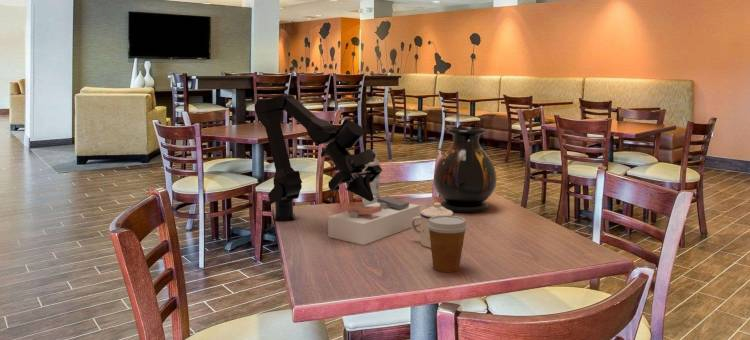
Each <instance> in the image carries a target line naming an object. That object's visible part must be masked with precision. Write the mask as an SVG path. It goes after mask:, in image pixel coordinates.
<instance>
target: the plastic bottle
mask: <svg viewBox="0 0 750 340" xmlns="http://www.w3.org/2000/svg"><path fill="white" fill-rule="evenodd" d="M371 150H372V151H373V152H374V153H375V159H374V162H370V163H368V164H366V165H365V166H366V167H365V168H364V169H363V170H362V172H364V171H365V170H366V168H367V167H368V166H372V165H379V166H380V167H381V168H382V166H381V163H380V161H379V159H378V151H377V150H374V149H371ZM380 177H381V173H380V174H379V175H378V176H377V177H376V178H375V179H374V181H373V182H371V183H370V187H371V191H372V194H373V197H374V200H373V201H371V202H370V201H368V200H366V199H364V198H363V197H361V200H362V206H366V205H370V204H373V203H377V198H381V197H382V195H381V189H380Z"/></svg>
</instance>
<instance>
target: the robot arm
mask: <svg viewBox="0 0 750 340" xmlns="http://www.w3.org/2000/svg"><path fill="white" fill-rule="evenodd" d="M253 107H254V112H255V114H256V118H257V119H258V121H259V122H260V123H261V124H262V125H263V127H264V129H265V132H266V136H267V140H268V144H269V149H270V152H271V157H272V160H273V164H274V168H275V171H274V172H275V173H274V175H273V179H272V180H273V188H271V190H270V191H269V193H268V194H267V197H268V200H269V202H272V203H273V202H274V204H275V205H274V206H275V208H274V211H275V213H274V216H273V221H295V219H296V218H295V217H296V215H295V213H294V200H295V199H299V198H300V193H301V190H302V188H303V187H302V183H303V180H302V178H301V174H300V172H299V170H294V168H292V165H291V162H290V157H289V153H288V149H287V145H286V142H285V137H284V134H283V133H284V132H283V128H282V125H281V123H282V120H283V116H284V114H283V112H284V111H285V112H287V113H288V114H289V115H290V116H291V117H292V118H293V119H294V120H295V121H296V122H297V123H299V124H300V125H301V126H302V127H303V128H305V130H306V133H307V136H308V138H310V139H311V140H312V142H313V143H314V144H315V145H323V144H327V145H326V146H325V147H321V152H320V157H321V158H324V157H329V159H330V161H331V162H332V163H333V165H334V167H333V170H334V171H335V172H336V173H335V174H334V175H333V176H332V177H331V178H330V179H329V181H328V183H327V184H328V186H327V187H328V189H329V190H330V192H331V193H334V192H338V191H339V190H340V186H339V185H342V184H346V186H347V187H346V188H345V191H346V192H347V191H349V192H351V193H353V194H355V195H357V196H358V197H360V198H362V197H363V198H364V199H366V200H368V201H370V202H371V201H373V200H374V197H373V194H372V191H371V187H370V183H371V182H373V181H374V179H375V178H376V177H377V176H378V175H379V174H380V175H381V173H382V172H383V169H382V166H381V167H380V166H379V165H372V166H368V167H367V168H366V170H365V171H364V172H363V169H364V168H365V167H366V166H365V165H366V164H368V163H370V162H374V159H375V153H374V152H373V151H372V150H373V149H371V148H368V149H367V148H366V150H363V151H362V152H358V153H355V154H354V153H353V154H352V153H351V152H350V151H349V149H353V148H354V146H355V145H356V144H358V141H359V140H360V139H361V138H362V137H363V136H364V134H365V131H364V129H363V127H362V126H361V125H359V124H358V123H357V122H356V121H353V120H351V118H345V119H344V120H343V121H342V123H341V125H340V126H339V128H338V127H337V126H336V125H335V124H334V123H331V122H330V121H328V120H326V119H322V118H319V117H317V116H316V115H315V114H314V113H312V111H311V110H309V109H308V108H307V107H305V105H303V104H302V103H301V102H299V100H298V99H296V97H295V96H294V95H292V94H279V95H278V96H275V97H274V96H273V97H269V98H268V97H267V98H259V99H257V101H256V102H255V104H254V106H253Z"/></svg>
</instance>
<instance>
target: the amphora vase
mask: <svg viewBox="0 0 750 340" xmlns="http://www.w3.org/2000/svg"><path fill="white" fill-rule="evenodd" d="M447 133H449V134H451V135H452V139H453V140H452V144H450V147H449V148H447V150H446V151H445V152H444V153H443V154H442V155H441V156H440V158H439V160H438V162H437V163H436V167H435V169H434V174H433V185H434V189H435V190H436V192H437V194H438V196H440V197H441V198H442V199H441V201H440V203H441V206H442V207H444V208H446V209H448V210H451V211H452V212H453V213H465V214H466V213H472V214H473V213H479V212H482V211H485V210H486V209H487V208H488V206H489V203H488V202H487V200H488V198H490V196H492V194H493V193H494V192H495V190H496V185H497V173H496V169H495V165H494V163H493V160H492V159H491V158H490V156H489V155H488V154H487V152H486V151H485V150H484V149H483V147H482V146H481V144H480V142H479V140H480V137H481V135H483V134H486V130H485V129H484V128H482V127H475V126H454V127H449V128H447Z"/></svg>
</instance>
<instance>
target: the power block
mask: <svg viewBox="0 0 750 340" xmlns="http://www.w3.org/2000/svg"><path fill="white" fill-rule="evenodd" d="M366 206H375V207H381V208H382V211H380V212H376V213H373V214H358V212H354V211H351V213H348V210H346V211H343V212H339V213H335V214H332V215H329V216H327V217H328V218H327V220H328V221H327V223H328V225H327V227H328V228H327V229H328V231H327V236H328V238H333V239H336V240H339V241H345V242H348V243H349V242H350V243H353V244H358V245H363V246H364V245H368V244H370V243H373V242H375V241H379V240H381V239H384V238H386V237H389V236H392V235H394V234H397V233H400V232H403V231H404V230H407V229H412V227H411V220H412V219H413V218H414V217H416V216H421V215H420V213H421V205H420V204H414V203H409V207H406V208H402V209H396V208H393V207H390V206H387V203H378V202H377V203H373V204H370V205H366ZM414 225H415V227H416V226H418V225H421V219H415V221H414Z"/></svg>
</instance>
